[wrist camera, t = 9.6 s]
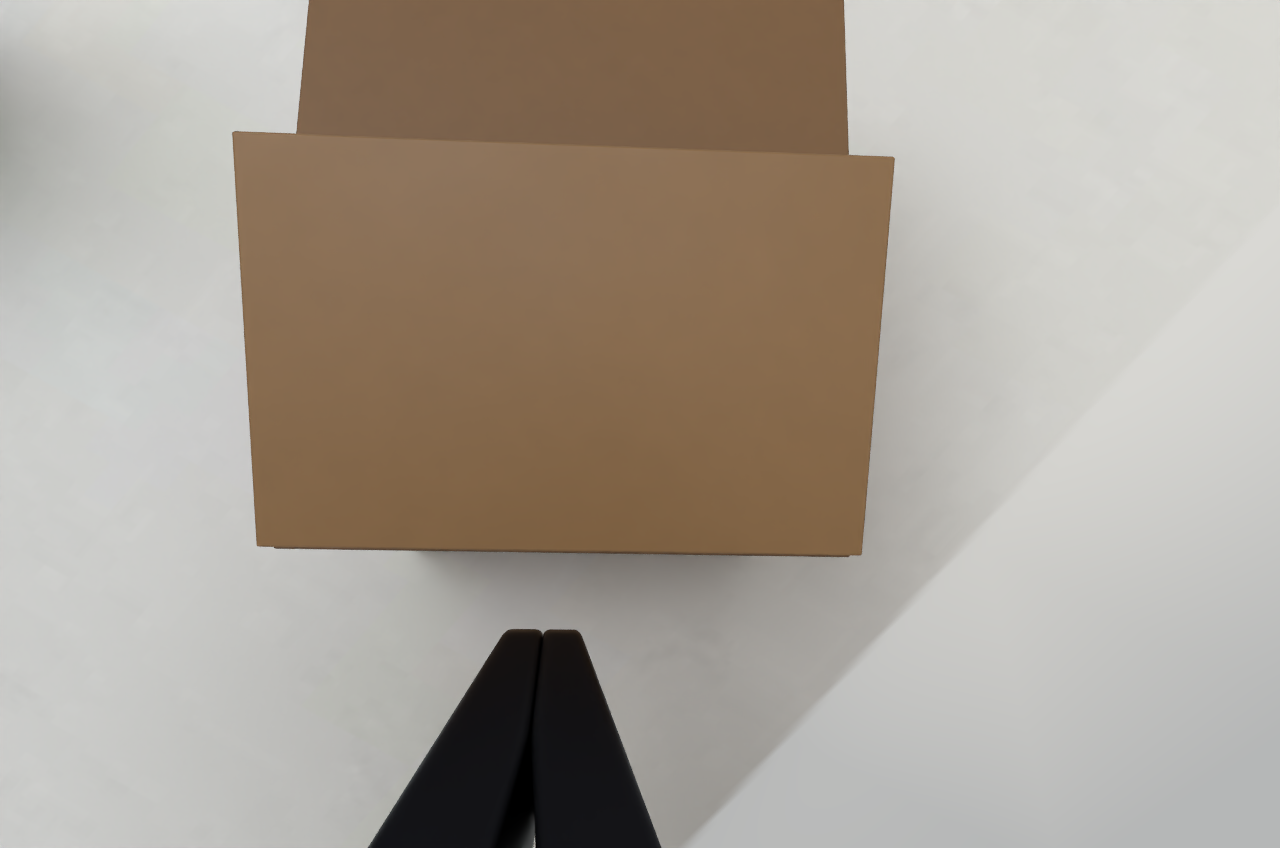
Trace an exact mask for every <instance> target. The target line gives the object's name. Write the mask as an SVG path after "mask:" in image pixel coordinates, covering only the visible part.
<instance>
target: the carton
mask: <svg viewBox="0 0 1280 848" xmlns="http://www.w3.org/2000/svg"><path fill="white" fill-rule="evenodd" d="M296 134H317V135H342V136H368V137H394V138H420V139H446V140H472V141H497V142H523V143H549V144H575V145H601V146H626V147H652V148H678V149H704V150H730V151H756V152H781V153H807V154H833V155H849V150H848V118H847V85H846V53H845V21H844V0H309V6H308V16H307V27H306V37H305V48H304V59H303V69H302V80H301V90H300V101H299V112H298V122H297V133H296ZM274 548H276V549H340V550H407V551H474V552H541V553H608V554H676V555H743V556H810V557H849V556H850V555H796V554H729V553H663V552H596V551H530V550H463V549H397V548H330V547H274Z"/></svg>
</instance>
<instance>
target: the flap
mask: <svg viewBox="0 0 1280 848" xmlns="http://www.w3.org/2000/svg"><path fill="white" fill-rule="evenodd" d="M232 135H233V152H234V169H235V186H236V202H237V219H238V236H239V253H240V270H241V287H242V304H243V321H244V338H245V354H246V371H247V388H248V405H249V422H250V439H251V456H252V473H253V490H254V507H255V523H256V540H257V546H263V547H330V548H397V549H463V550H530V551H596V552H663V553H729V554H796V555H861V554H862V544H863V532H864V520H865V508H866V496H867V484H868V472H869V460H870V448H871V436H872V424H873V412H874V400H875V388H876V376H877V364H878V352H879V341H880V329H881V317H882V305H883V293H884V281H885V269H886V257H887V245H888V233H889V221H890V209H891V197H892V185H893V173H894V161H895V159H894V157H885V156H859V155H833V154H807V153H781V152H756V151H730V150H704V149H678V148H652V147H626V146H601V145H575V144H549V143H523V142H497V141H472V140H446V139H420V138H394V137H368V136H342V135H317V134H291V133H265V132H239V131H235V132H233V133H232Z"/></svg>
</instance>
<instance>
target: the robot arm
mask: <svg viewBox="0 0 1280 848" xmlns="http://www.w3.org/2000/svg"><path fill="white" fill-rule="evenodd" d="M534 836H535V842H536V848H661V846H660V843H659V840H658V838H657V835H656V832H655V830H654V827H653V824H652V822H651V819H650V816H649V814H648V811H647V808H646V806H645V803H644V800H643V798H642V795H641V792H640V790H639V787H638V784H637V782H636V779H635V776H634V774H633V771H632V768H631V766H630V763H629V760H628V758H627V755H626V752H625V750H624V747H623V744H622V742H621V739H620V736H619V734H618V731H617V728H616V726H615V723H614V720H613V718H612V715H611V712H610V710H609V707H608V704H607V702H606V699H605V696H604V694H603V691H602V688H601V686H600V683H599V680H598V678H597V675H596V672H595V670H594V667H593V664H592V662H591V659H590V656H589V654H588V651H587V649H586V646H585V643H584V641H583V638H582V636H581V634H580V633H579V632H578V631H577V630H551V629H550V630H547V631H546V632H545V633H544V634H542V632H541V631H539V630H536V629H510V630H508V631H506V632H505V633H504V634H503V635H502V637H501V638H500V640H499V641H498V643H497V644H496V646H495V648H494V649H493V651H492V652H491V654H490V655H489V657H488V659H487V660H486V662H485V663H484V665H483V667H482V668H481V670H480V671H479V673H478V674H477V676H476V678H475V679H474V681H473V682H472V684H471V686H470V687H469V689H468V690H467V692H466V693H465V695H464V697H463V698H462V700H461V701H460V703H459V704H458V706H457V708H456V709H455V711H454V712H453V714H452V716H451V717H450V719H449V720H448V722H447V723H446V725H445V727H444V728H443V730H442V731H441V733H440V735H439V736H438V738H437V739H436V741H435V742H434V744H433V746H432V747H431V749H430V750H429V752H428V754H427V755H426V757H425V758H424V760H423V761H422V763H421V765H420V766H419V768H418V769H417V771H416V772H415V774H414V776H413V777H412V779H411V780H410V782H409V784H408V785H407V787H406V788H405V790H404V791H403V793H402V795H401V796H400V798H399V799H398V801H397V803H396V804H395V806H394V807H393V809H392V810H391V812H390V814H389V815H388V817H387V818H386V820H385V821H384V823H383V825H382V826H381V828H380V829H379V831H378V833H377V834H376V836H375V837H374V839H373V840H372V842H371V844H370V845H369V847H368V848H533V842H534Z"/></svg>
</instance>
